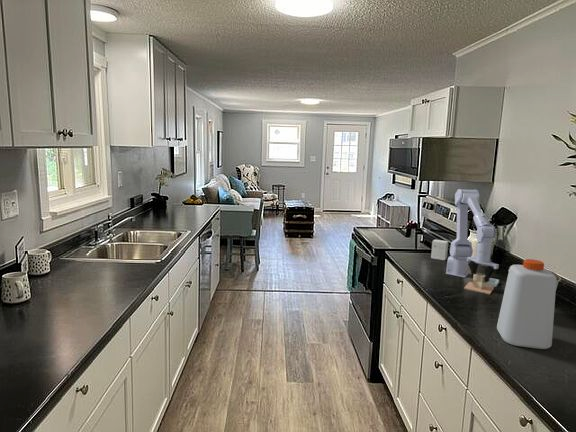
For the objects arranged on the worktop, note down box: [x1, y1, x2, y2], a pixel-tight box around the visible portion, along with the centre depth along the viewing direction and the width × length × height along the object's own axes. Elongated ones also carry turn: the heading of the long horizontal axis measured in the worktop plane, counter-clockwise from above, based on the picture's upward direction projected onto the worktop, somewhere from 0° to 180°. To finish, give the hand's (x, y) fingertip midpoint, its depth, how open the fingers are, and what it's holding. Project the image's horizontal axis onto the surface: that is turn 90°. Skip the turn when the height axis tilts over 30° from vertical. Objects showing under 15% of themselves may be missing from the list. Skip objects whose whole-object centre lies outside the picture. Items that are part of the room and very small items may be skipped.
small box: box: [430, 239, 449, 261], centre depth 244 cm, size 8×6×10 cm
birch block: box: [472, 272, 488, 289], centre depth 195 cm, size 4×4×6 cm
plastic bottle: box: [496, 258, 557, 350], centre depth 143 cm, size 15×15×28 cm
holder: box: [487, 277, 500, 288], centre depth 204 cm, size 8×8×2 cm
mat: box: [463, 281, 495, 295], centre depth 195 cm, size 11×11×1 cm
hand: (480, 279), depth 194 cm, fingers open, 6 cm apart
